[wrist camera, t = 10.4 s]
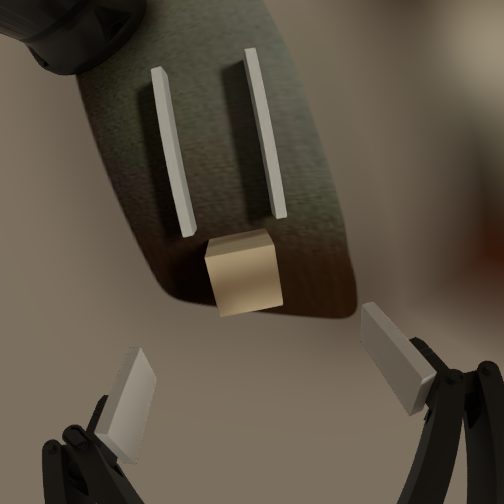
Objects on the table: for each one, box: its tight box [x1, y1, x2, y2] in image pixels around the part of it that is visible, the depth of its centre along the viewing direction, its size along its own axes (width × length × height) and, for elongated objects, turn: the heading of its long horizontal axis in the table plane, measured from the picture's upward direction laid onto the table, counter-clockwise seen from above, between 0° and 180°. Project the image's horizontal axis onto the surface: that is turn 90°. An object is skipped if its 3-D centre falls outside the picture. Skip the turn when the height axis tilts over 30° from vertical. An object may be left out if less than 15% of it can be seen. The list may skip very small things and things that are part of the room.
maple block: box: [205, 228, 283, 317], centre depth 27 cm, size 6×6×6 cm
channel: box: [151, 48, 287, 237], centre depth 24 cm, size 17×10×3 cm, turn 10°
